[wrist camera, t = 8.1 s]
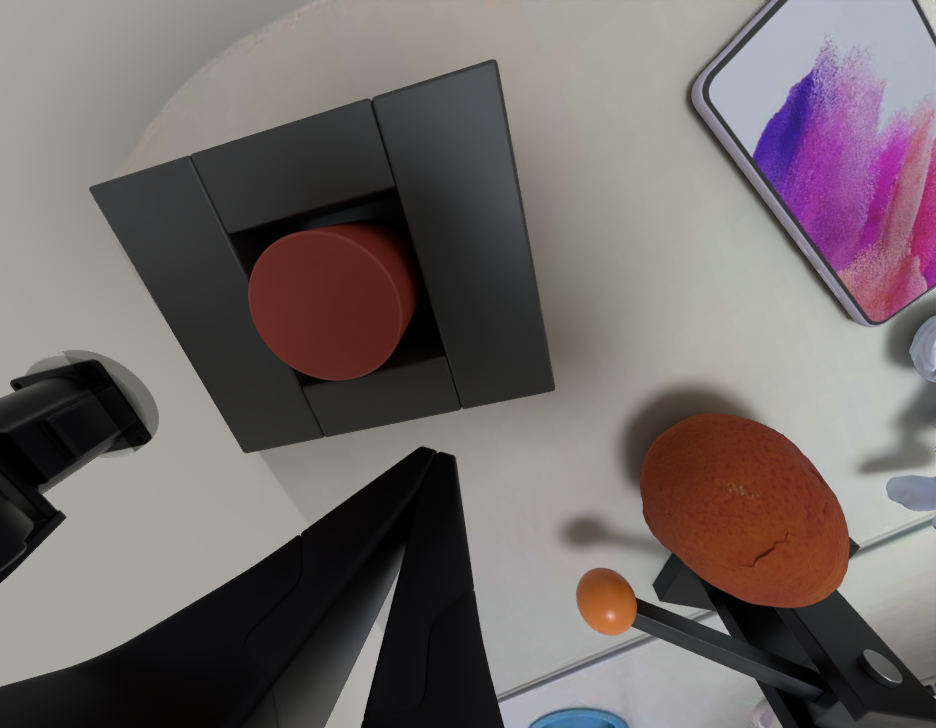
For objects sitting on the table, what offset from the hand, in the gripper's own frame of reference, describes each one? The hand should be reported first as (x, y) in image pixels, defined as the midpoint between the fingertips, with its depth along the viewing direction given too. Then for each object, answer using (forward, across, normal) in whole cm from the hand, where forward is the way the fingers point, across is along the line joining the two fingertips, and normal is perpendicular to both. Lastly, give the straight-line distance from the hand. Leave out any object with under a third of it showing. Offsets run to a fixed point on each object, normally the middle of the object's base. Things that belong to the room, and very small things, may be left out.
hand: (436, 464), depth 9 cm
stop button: (+5, +4, -2) cm, 7 cm away
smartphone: (+15, -13, -9) cm, 22 cm away
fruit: (+9, -16, +3) cm, 19 cm away
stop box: (+12, +5, -2) cm, 13 cm away
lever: (+9, -16, +14) cm, 23 cm away
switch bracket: (+14, -20, +15) cm, 29 cm away
